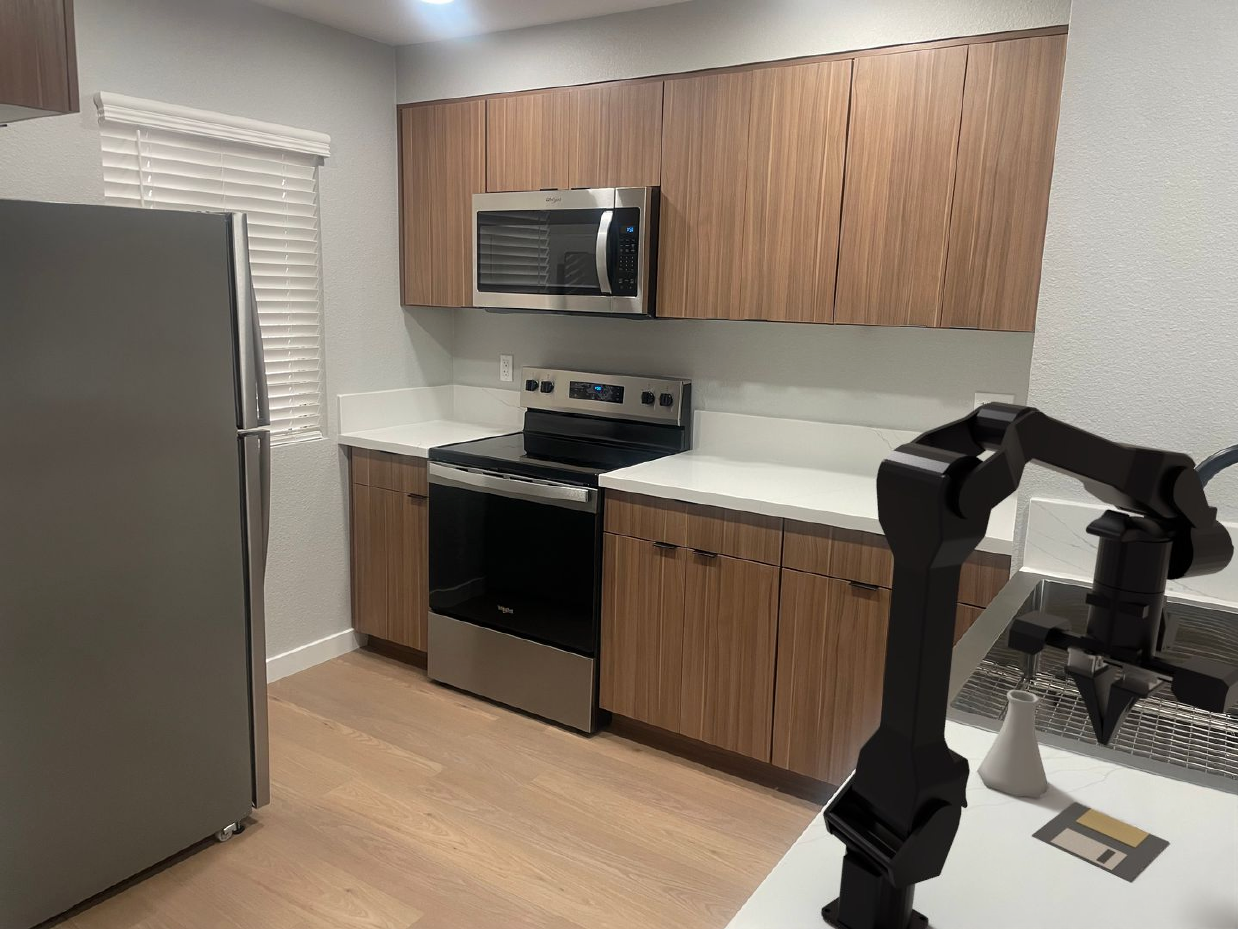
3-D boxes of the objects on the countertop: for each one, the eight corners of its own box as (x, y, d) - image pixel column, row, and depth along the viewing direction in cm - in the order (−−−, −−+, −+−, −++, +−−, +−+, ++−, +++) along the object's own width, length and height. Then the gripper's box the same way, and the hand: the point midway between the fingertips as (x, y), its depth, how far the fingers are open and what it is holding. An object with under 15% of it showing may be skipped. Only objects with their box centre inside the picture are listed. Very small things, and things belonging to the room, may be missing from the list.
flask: (1049, 806, 95) (1061, 716, 93) (975, 788, 97) (986, 701, 96) (1047, 775, 101) (1059, 690, 99) (977, 759, 104) (988, 677, 102)
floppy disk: (1130, 881, 82) (1130, 879, 82) (1031, 835, 89) (1032, 834, 89) (1169, 842, 89) (1169, 840, 89) (1074, 802, 95) (1074, 800, 95)
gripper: (1275, 595, 81) (1246, 758, 83) (1062, 547, 94) (1042, 688, 97) (1237, 620, 73) (1206, 797, 76) (1012, 563, 87) (992, 715, 90)
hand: (1104, 743), depth 85 cm, fingers closed
